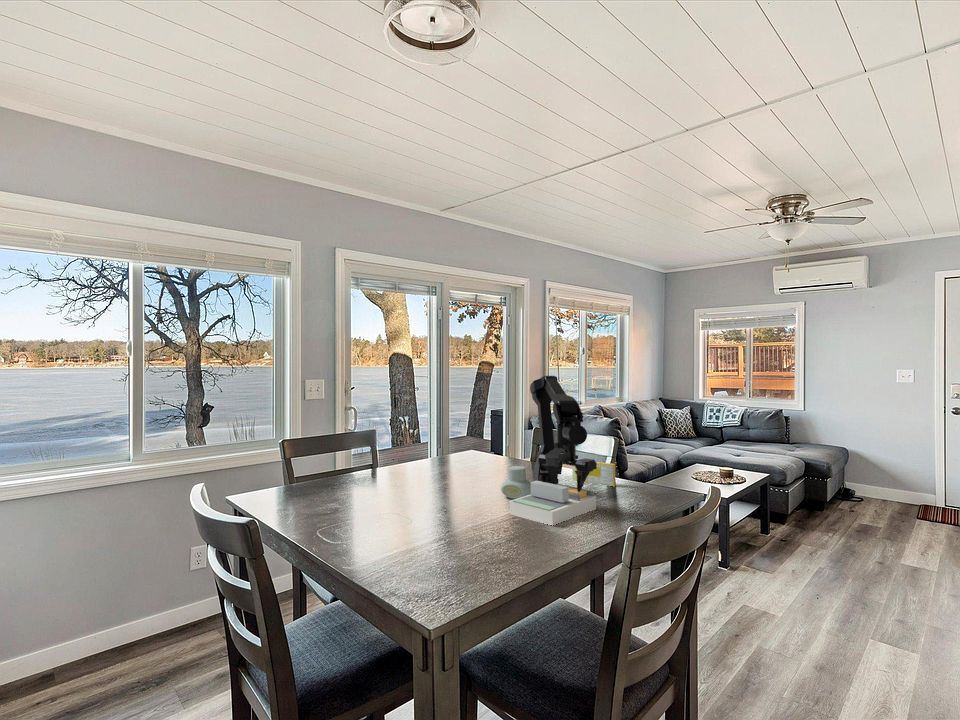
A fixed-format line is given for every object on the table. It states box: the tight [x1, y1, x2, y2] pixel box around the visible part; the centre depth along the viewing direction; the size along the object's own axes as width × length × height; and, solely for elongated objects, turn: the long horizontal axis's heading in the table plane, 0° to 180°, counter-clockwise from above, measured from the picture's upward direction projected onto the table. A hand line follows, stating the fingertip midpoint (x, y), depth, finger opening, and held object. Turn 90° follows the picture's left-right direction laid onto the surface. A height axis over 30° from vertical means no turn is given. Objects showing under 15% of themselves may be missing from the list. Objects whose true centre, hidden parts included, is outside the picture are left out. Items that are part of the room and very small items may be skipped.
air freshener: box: [500, 465, 531, 500], centre depth 172 cm, size 11×8×10 cm
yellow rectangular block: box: [568, 487, 587, 498], centre depth 160 cm, size 12×4×2 cm, turn 45°
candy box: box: [571, 461, 616, 488], centre depth 189 cm, size 16×2×8 cm, turn 58°
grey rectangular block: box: [530, 480, 569, 503], centre depth 154 cm, size 12×3×4 cm, turn 45°
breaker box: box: [509, 483, 597, 527], centre depth 155 cm, size 16×22×6 cm
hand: (566, 489), depth 160 cm, fingers open, 9 cm apart
